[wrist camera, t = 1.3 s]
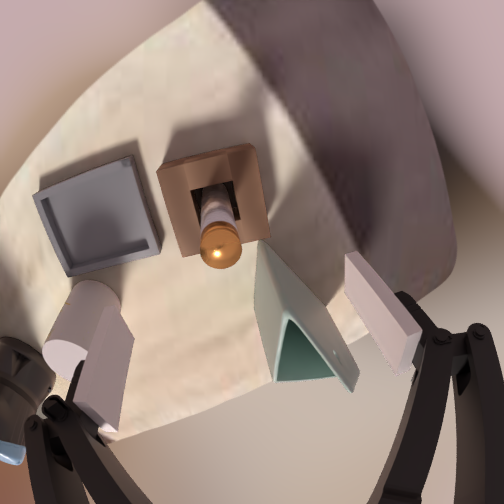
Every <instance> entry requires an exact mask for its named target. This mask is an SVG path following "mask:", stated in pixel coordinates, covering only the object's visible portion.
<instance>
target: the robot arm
mask: <svg viewBox="0 0 504 504" xmlns="http://www.w3.org/2000/svg"><path fill="white" fill-rule="evenodd" d="M345 294H346V296H347V297H348V299H349V300H350V302H351V304H352V305H353V307H354V308H355V310H356V311H357V313H358V315H359V316H360V318H361V319H362V321H363V323H364V324H365V326H366V328H367V329H368V331H369V332H370V334H371V336H372V337H373V339H374V340H375V342H376V344H377V346H378V347H379V349H380V351H381V352H382V354H383V356H384V357H385V359H386V361H387V362H388V364H389V366H390V368H391V369H392V371H393V373H394V374H395V376H398V375H400V374H402V373H405V372H407V371H409V370H410V367H411V364H412V363H413V365H414V366H415V368H416V370H415V373H414V375H413V377H412V380H411V381H412V385H411V389H410V393H409V396H408V400H407V403H406V406H405V410H404V414H403V416H402V420H401V423H400V426H399V429H398V432H397V434H396V438H395V440H394V443H393V446H392V449H391V451H390V454H389V456H388V459H387V461H386V464H385V466H384V468H383V471H382V473H381V476H380V478H379V480H378V482H377V484H376V487H375V489H374V491H373V493H372V495H371V497H370V499H369V501H368V503H367V504H421V501H422V499H421V493H422V490H423V487H424V484H425V482H426V479H427V476H428V473H429V470H430V467H431V464H432V460H433V457H434V453H435V450H436V446H437V442H438V439H439V435H440V430H441V426H442V422H443V417H444V413H445V407H446V402H447V396H448V390H449V384H450V377H451V376H452V381H453V389H454V400H455V411H456V412H455V413H456V433H457V463H456V483H455V496H454V504H504V380H503V376H502V371H501V367H500V363H499V359H498V355H497V352H496V348H495V345H494V341H493V338H492V335H491V332H490V330H489V329H488V327H486V326H485V325H483V324H481V323H474V324H472V325H470V326H469V328H468V330H467V332H464V333H457V334H451V333H450V332H449V331H448V330H446V329H442V328H437V327H436V326H435V324H434V323H433V322H432V320H431V319H430V318H429V317H428V316H427V314H426V313H425V312H424V311H423V310H422V309H421V307H420V306H419V305H418V304H416V301H415V300H414V299H413V298H412V297H411V296H410V295H409V294H407V293H405V292H403V291H400V292H397V293H393V292H392V291H391V290H390V289H389V287H388V286H387V285H386V284H385V283H384V281H383V280H382V279H381V278H380V277H379V275H378V274H377V273H376V272H375V271H374V270H373V268H372V267H371V266H370V265H369V264H368V263H367V262H366V260H365V259H364V258H363V257H362V256H361V255H360V254H359V253H358V251H354V252H350V253H346V254H345ZM134 339H135V338H134V337H133V335H132V333H131V332H130V330H129V328H128V326H127V325H126V323H125V321H124V319H123V318H122V316H121V314H120V312H119V310H118V308H117V307H116V305H112V306H107V307H104V310H103V312H102V315H101V317H100V320H99V323H98V325H97V328H96V331H95V333H94V336H93V339H92V342H91V345H90V347H89V350H88V353H87V356H86V359H85V360H81V361H80V362H79V364H78V365H77V366H76V368H75V371H74V374H73V377H72V380H71V383H70V386H69V390H68V393H67V396H66V400H65V401H64V400H63V399H62V398H61V397H60V396H58V395H51V396H49V397H48V398H47V399H46V400H45V401H44V403H43V405H42V413H43V414H44V415H45V416H46V417H47V418H46V419H42V418H40V417H39V416H38V415H36V412H37V409H38V407H39V405H40V404H41V403H42V402H43V400H44V399H45V398H46V397H47V396H48V395H49V393H50V392H51V391H52V389H53V387H54V384H55V381H56V376H55V373H54V371H53V370H52V369H51V368H50V367H49V366H48V364H47V363H46V361H45V359H44V357H43V356H42V355H41V354H39V353H38V352H37V351H36V350H35V349H33V348H32V347H30V346H29V345H27V344H25V343H24V342H22V341H20V340H17V339H14V338H10V337H3V338H1V339H0V460H1V461H4V462H6V463H9V464H13V465H19V464H21V463H22V462H23V459H24V456H25V453H26V454H27V462H28V468H29V475H30V480H31V486H32V490H33V495H34V500H35V504H89V501H88V498H87V496H86V492H85V490H84V486H83V484H84V485H85V487H86V489H87V490H88V492H89V494H90V495H91V497H92V499H93V500H94V502H95V503H96V504H152V502H151V501H150V500H149V499H148V498H147V497H146V495H145V494H144V493H143V492H142V491H141V489H140V488H139V487H138V486H137V485H136V483H135V482H134V481H133V480H132V478H131V477H130V476H129V474H128V473H127V472H126V470H125V469H124V468H123V466H122V465H121V464H120V462H119V461H118V460H117V458H116V457H115V455H114V454H113V452H112V451H111V450H110V448H109V447H108V445H107V444H106V442H105V441H104V439H103V437H102V436H101V435H100V434H99V433H98V427H100V428H101V429H103V430H104V431H105V432H118V427H119V420H120V413H121V407H122V400H123V394H124V389H125V383H126V378H127V373H128V367H129V362H130V357H131V353H132V348H133V343H134ZM82 482H83V483H82Z"/></svg>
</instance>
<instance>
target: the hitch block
mask: <svg viewBox="0 0 504 504" xmlns="http://www.w3.org/2000/svg"><path fill="white" fill-rule="evenodd" d="M156 173H157V176H158V180H159V183H160V187H161V190H162V194H163V197H164V200H165V204H166V207H167V210H168V214H169V217H170V220H171V223H172V226H173V230H174V233H175V236H176V239H177V242H178V245H179V248H180V251H181V254H182V257H187V256H192V255H196V254H200V233H201V214H200V211H199V207H198V203H197V199H196V195H195V192H194V189H198V188H202V187H206V186H210V185H215V184H219V183H223V182H228V181H232V185H233V190H234V195H235V199H236V204H237V207H236V208H232V211H233V215H234V219H235V223H236V227H237V231H238V234H239V238H240V242H241V244H243V243H248V242H252V241H256V240H261V239H265V238H269V237H271V236H270V230H269V224H268V218H267V212H266V206H265V201H264V195H263V189H262V183H261V178H260V172H259V166H258V161H257V155H256V150H255V147H253V146H252V145H251V144H250V143H248V144H243V145H238V146H233V147H228V148H224V149H219V150H215V151H211V152H206V153H202V154H198V155H194V156H190V157H186V158H182V159H178V160H175V161H171V162H167V163H164V164H162V165H161V166H160V167H159V169H158V170H157V171H156Z"/></svg>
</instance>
